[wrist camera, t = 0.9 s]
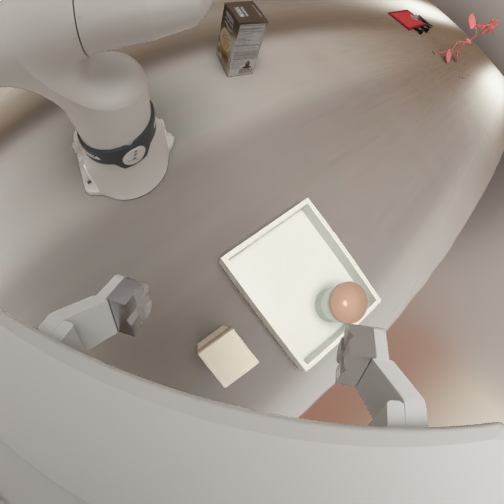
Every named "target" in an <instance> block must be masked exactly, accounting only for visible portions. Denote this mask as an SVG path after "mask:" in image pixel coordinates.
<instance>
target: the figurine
mask: <svg viewBox="0 0 504 504" xmlns="http://www.w3.org/2000/svg"><path fill="white" fill-rule="evenodd" d="M468 20H469V21H468V23H467V25H469V26H470V28H471V29H473V28H474V27H475V30H476V35H475V36H474V37H476V36H477V29H476V26H477V25H480V26H477V27H481V26H483V27H482V28H481V29H482V30H483V31H482V32H481V34H484V33H485V32H486V33H487V34H488V33H489V32H490V31H493V30H494V28H495V27H497V26H498V24H497V23H498V21H499V19H497V20H495V19H492V20H491V21H490V22H489V23H485V24H475V23H476V22H475V17H474V15H473V13H472V14H471V15H470V16H469V19H468ZM484 25H485V26H484ZM493 34H494V33H493ZM474 37H473V38H474ZM473 38H472V39H473ZM472 39H471V40H472ZM471 40H470V39H468V38H467V39H465V42H464V44H465V43H467V44H471ZM458 42H461V41H458ZM458 42H457V43H458ZM457 43H456V44H455V46H456V45H457ZM464 44H463V45H464ZM463 45H462V46H463ZM455 46H454V47H455ZM462 46H461V48H462ZM454 47H453V48H454ZM453 48H452V49H453ZM461 48H460V49H461ZM452 49H448V51H445V52H440V53H439V54H442V53H447V54H446V60H447V62H446V63H448V62H449V61H450V58H451V53H457V56H458V53H459V51H460V49H459V51H458V50H457V51H456V52H451V51H452ZM432 52H433V51H432ZM457 56H456V62H457ZM465 71H466V70H465ZM466 74H467V73H466ZM467 76H468V75H467ZM467 76H466V77H467ZM461 78H462V77H461Z"/></svg>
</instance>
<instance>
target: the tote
mask: <svg viewBox="0 0 504 504" xmlns="http://www.w3.org/2000/svg"><path fill="white" fill-rule="evenodd" d="M219 264H220V265H221V267H222V268H223V269H224V271H225V272H226V274H227V275H228V276H229V278H230V279H231V280H232V282H233V283H234V285H235V286H236V287H237V289H238V290H239V291H240V293H241V294H242V295H243V297H244V298H245V299H246V301H247V302H248V303H249V305H250V306H251V307H252V309H253V310H254V311H255V313H256V314H257V315H258V317H259V318H260V319H261V321H262V322H263V323H264V325H265V326H266V327H267V329H268V330H269V331H270V333H271V334H272V335H273V337H274V338H275V339H276V340H277V342H278V343H279V344H280V346H281V347H282V348H283V350H284V351H285V352H286V353H287V355H288V356H289V357H290V359H291V360H292V361H293V362H294V364H295V365H296V366H297V368H299V369H301V370H303V371H308V370H309V369H310V368H311V367H312V366H313V365H315V364H316V363H317V362H318V361H319V360H320V359H321V358H323V357H324V356H325V355H326V354H327V353H328V352H329V351H330V350H331V349H333V348H334V347H335V346H336V345H337V344H338V343H339V342H340V340H341V338H342V337H344V330H345V327H346V325H347V324H345V323H341V322H326V321H324V320H322V319H321V318H320V317H319V316H318V314H317V312H316V309H315V301H316V298H317V296H318V294H319V293H320V292H321V291H322V290H323V289H325V288H329V287H333V286H337V285H338V284H340V283H343V282H348V281H351V282H355V283H357V284H359V285H360V286H361V287H362V288H363V289H364V291H365V293H366V295H367V301H368V305H367V310H366V312H365V314H364V316H363V317H362V318H361V319H360V320H359V321H357V322H355V323H351V324H355V325H358V324H359V323H360V322H361V321H362V320H363V319H364V318H365V317H366V316H367V315H368V314H369V313H370V312H371V311H372V310H373V309H374V308H375V307H376V306H377V305H378V304H379V303H380V302H381V299H380V298H379V296H378V295H377V293H376V292H375V290H374V289H373V287H372V286H371V284H370V283H369V281H368V280H367V278H366V277H365V275H364V274H363V272H362V271H361V270H360V268H359V267H358V265H357V264H356V262H355V261H354V260H353V258H352V257H351V255H350V254H349V252H348V251H347V250H346V248H345V247H344V245H343V244H342V243H341V241H340V240H339V238H338V237H337V236H336V234H335V233H334V232H333V230H332V229H331V228H330V226H329V225H328V223H327V222H326V221H325V219H324V218H323V217H322V215H321V214H320V213H319V212H318V210H317V209H316V208H315V206H314V205H313V204H312V202H311V201H310V200H309V198H307V199H305V200H304V201H302V202H301V203H299V204H298V205H296V206H295V207H293V208H292V209H291V210H289V211H288V212H286V213H285V214H283V215H282V216H280V217H279V218H277V219H276V220H274V221H273V222H272V223H270V224H269V225H267V226H266V227H264V228H263V229H261V230H260V231H259V232H257V233H256V234H254V235H253V236H251V237H250V238H248V239H247V240H246V241H244V242H243V243H241V244H240V245H238V246H237V247H235V248H234V249H233V250H231V251H230V252H228V253H227V254H225V255H224V256H223V257H221V258H220V260H219Z"/></svg>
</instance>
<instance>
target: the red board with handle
mask: <svg viewBox="0 0 504 504" xmlns="http://www.w3.org/2000/svg"><path fill="white" fill-rule="evenodd" d="M388 14H389V15H390V16H392V17H393V18H394V19H395V20H397V21H398V22H399V23H401V24H402V25H403V26H404V27H405V28H407V29H408V30H411V29H415V30H417V31H419V34H422V33H423V31H424V30H425V31H424V32H426V33H427V32H428V30H429V28H425V27H423V26H425V25H427V26H428V27H433V26H432V25H431V24H429V23H428V22H427V21H426V20H425V19H423V18H422V17H421V16H420V15H419V16H417V15H413V14H412V13H411V12H409V11H408V10H402V11H396V12H390V13H388ZM418 27H421V28H422V29H424V30H420V29H418Z"/></svg>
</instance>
